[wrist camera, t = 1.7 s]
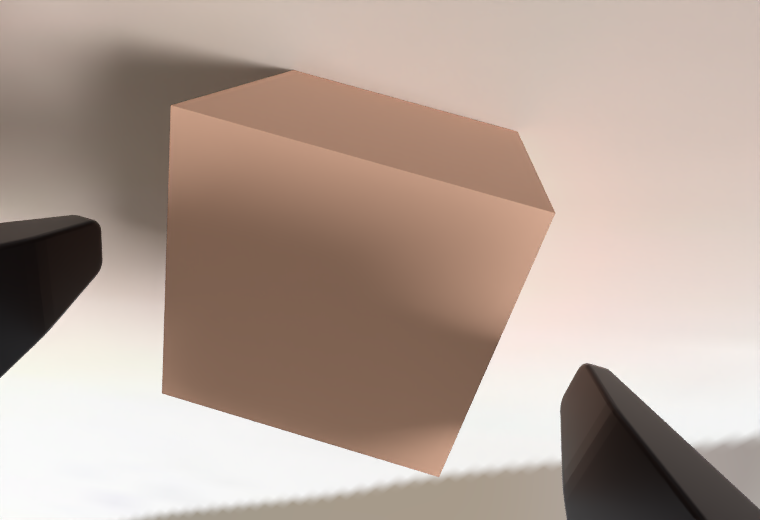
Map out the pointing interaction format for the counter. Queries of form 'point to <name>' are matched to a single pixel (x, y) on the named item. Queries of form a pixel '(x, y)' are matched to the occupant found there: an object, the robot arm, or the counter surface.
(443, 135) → the terracotta block
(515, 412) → the counter surface
